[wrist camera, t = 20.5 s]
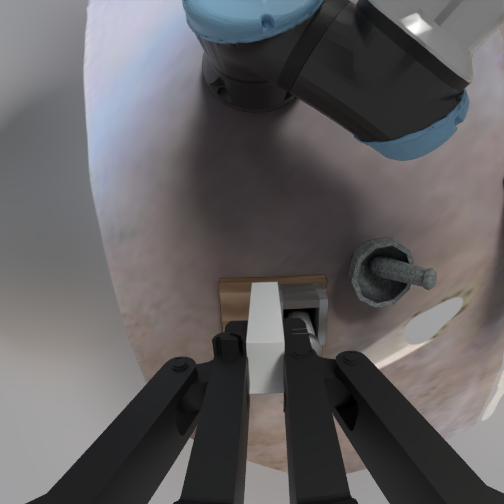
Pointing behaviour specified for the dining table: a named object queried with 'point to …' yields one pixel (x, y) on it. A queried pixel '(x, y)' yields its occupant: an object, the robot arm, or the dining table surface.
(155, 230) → the dining table surface
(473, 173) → the dining table surface
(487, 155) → the dining table surface
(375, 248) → the mortar and pestle
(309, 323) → the pin
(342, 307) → the dining table surface
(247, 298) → the hitch board
